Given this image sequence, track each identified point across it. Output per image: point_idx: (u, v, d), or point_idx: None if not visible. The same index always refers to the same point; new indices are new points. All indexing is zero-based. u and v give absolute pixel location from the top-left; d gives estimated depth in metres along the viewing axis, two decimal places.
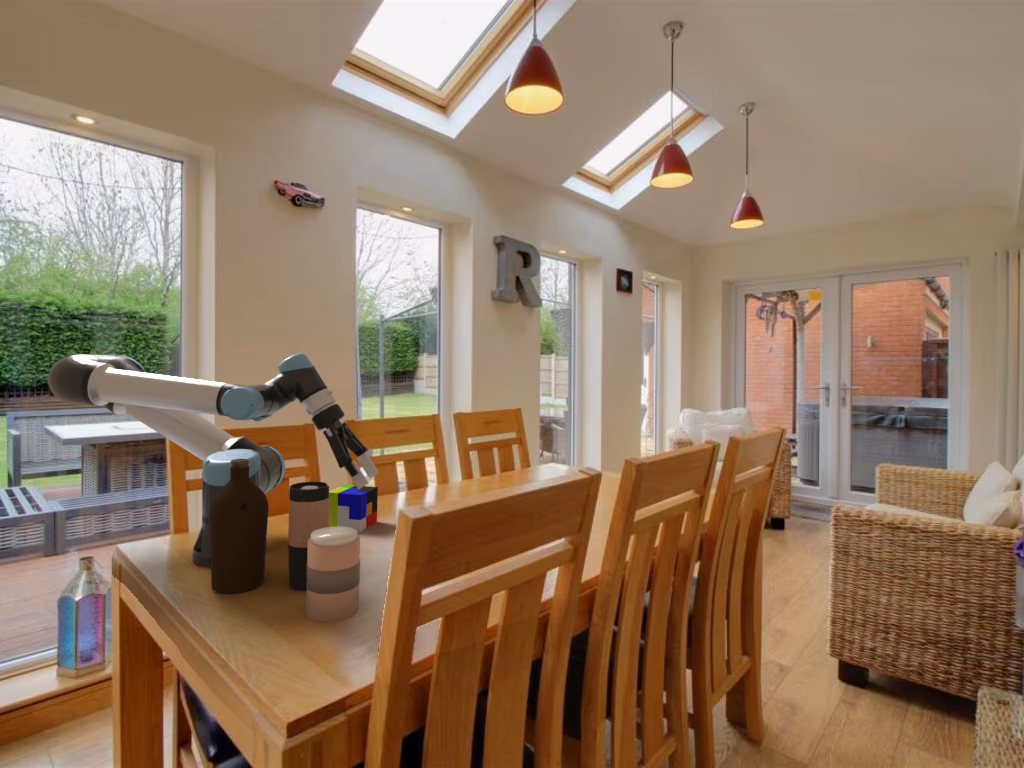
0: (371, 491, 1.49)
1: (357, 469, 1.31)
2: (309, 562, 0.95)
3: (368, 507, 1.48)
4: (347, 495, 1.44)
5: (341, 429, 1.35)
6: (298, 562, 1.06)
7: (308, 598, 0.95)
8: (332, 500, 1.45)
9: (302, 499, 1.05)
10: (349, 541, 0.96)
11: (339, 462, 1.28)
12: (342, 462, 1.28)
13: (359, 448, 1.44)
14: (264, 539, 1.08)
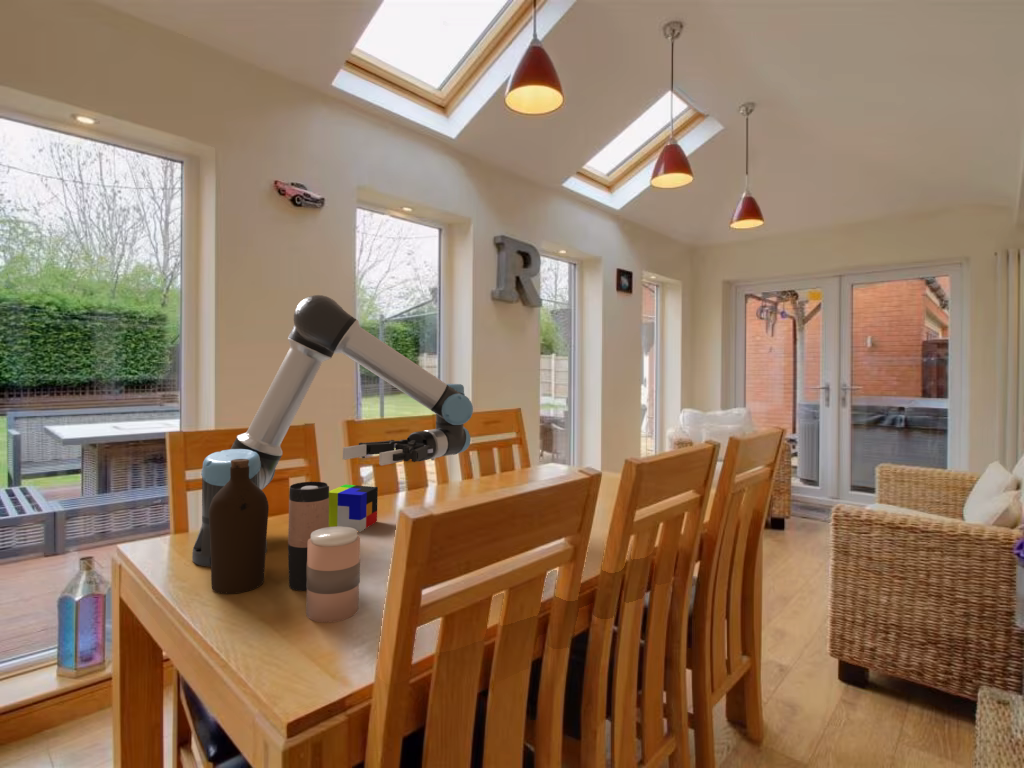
0: (371, 491, 1.49)
1: (395, 461, 1.21)
2: (309, 562, 0.95)
3: (368, 507, 1.48)
4: (347, 495, 1.44)
5: None
6: (298, 562, 1.06)
7: (308, 598, 0.95)
8: (332, 500, 1.45)
9: (302, 499, 1.05)
10: (349, 541, 0.96)
11: (416, 452, 1.23)
12: (415, 455, 1.22)
13: (372, 452, 1.30)
14: (264, 539, 1.08)
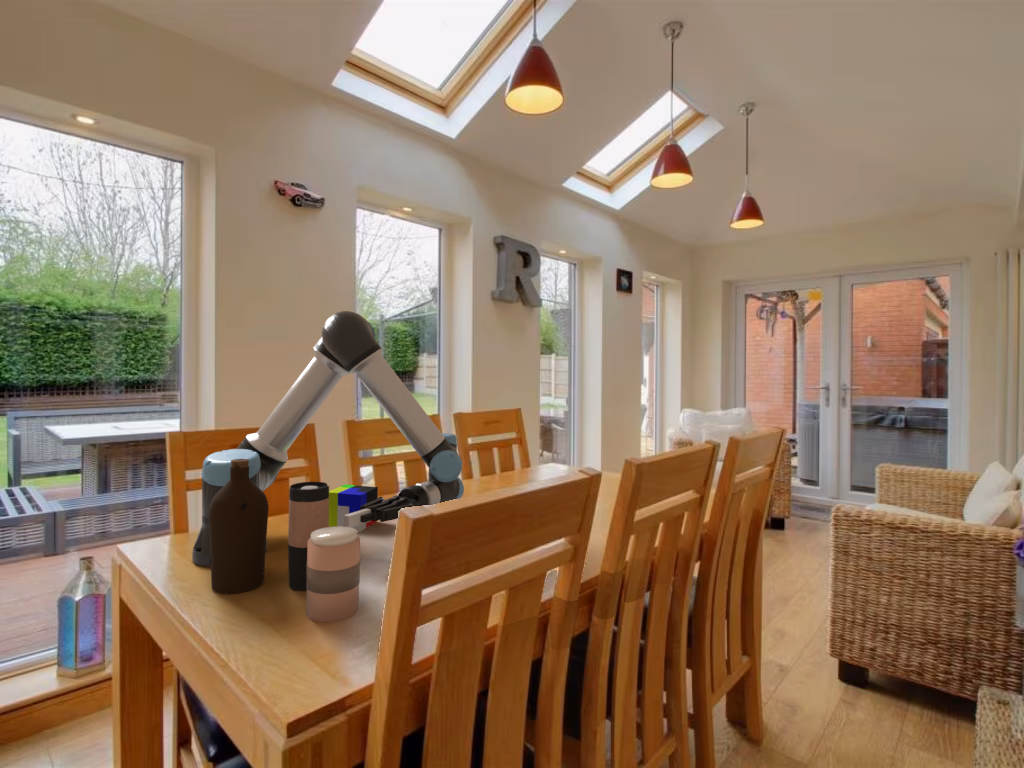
0: (371, 491, 1.49)
1: None
2: (309, 562, 0.95)
3: None
4: (347, 495, 1.44)
5: None
6: (298, 562, 1.06)
7: (308, 598, 0.95)
8: (332, 500, 1.45)
9: (302, 499, 1.05)
10: (349, 541, 0.96)
11: (385, 512, 1.22)
12: (383, 515, 1.22)
13: None
14: (264, 539, 1.08)
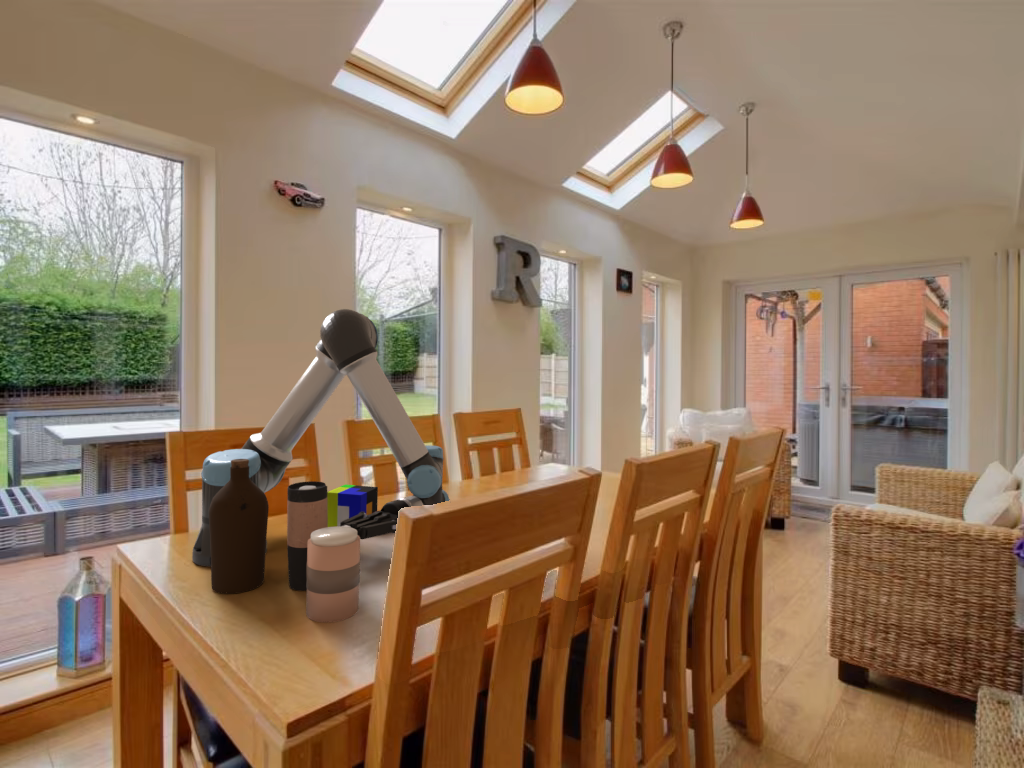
0: (371, 491, 1.49)
1: None
2: (309, 562, 0.95)
3: (368, 507, 1.48)
4: (347, 495, 1.44)
5: None
6: (297, 563, 1.06)
7: (308, 598, 0.95)
8: (332, 500, 1.45)
9: (301, 499, 1.05)
10: (349, 541, 0.96)
11: (365, 529, 1.18)
12: (363, 532, 1.17)
13: None
14: (264, 539, 1.08)
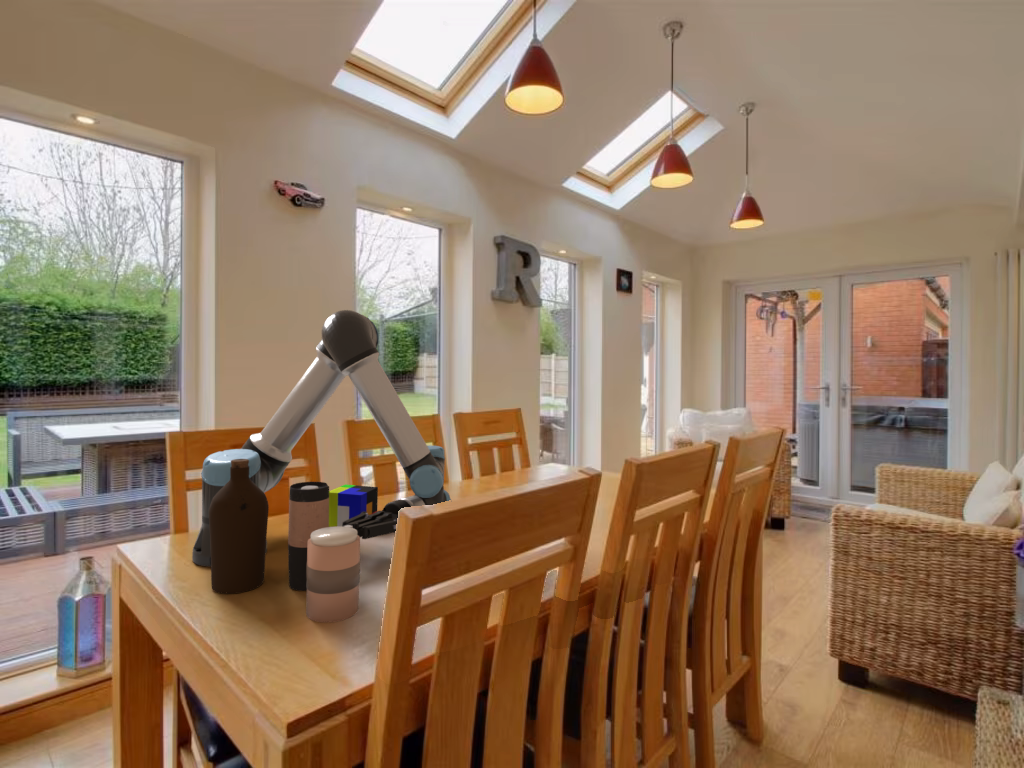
0: (371, 491, 1.49)
1: None
2: (309, 562, 0.95)
3: (368, 507, 1.48)
4: (347, 495, 1.44)
5: None
6: (298, 562, 1.06)
7: (308, 598, 0.95)
8: (332, 500, 1.45)
9: (303, 499, 1.05)
10: (349, 541, 0.96)
11: (367, 529, 1.18)
12: (366, 532, 1.18)
13: None
14: (264, 539, 1.08)
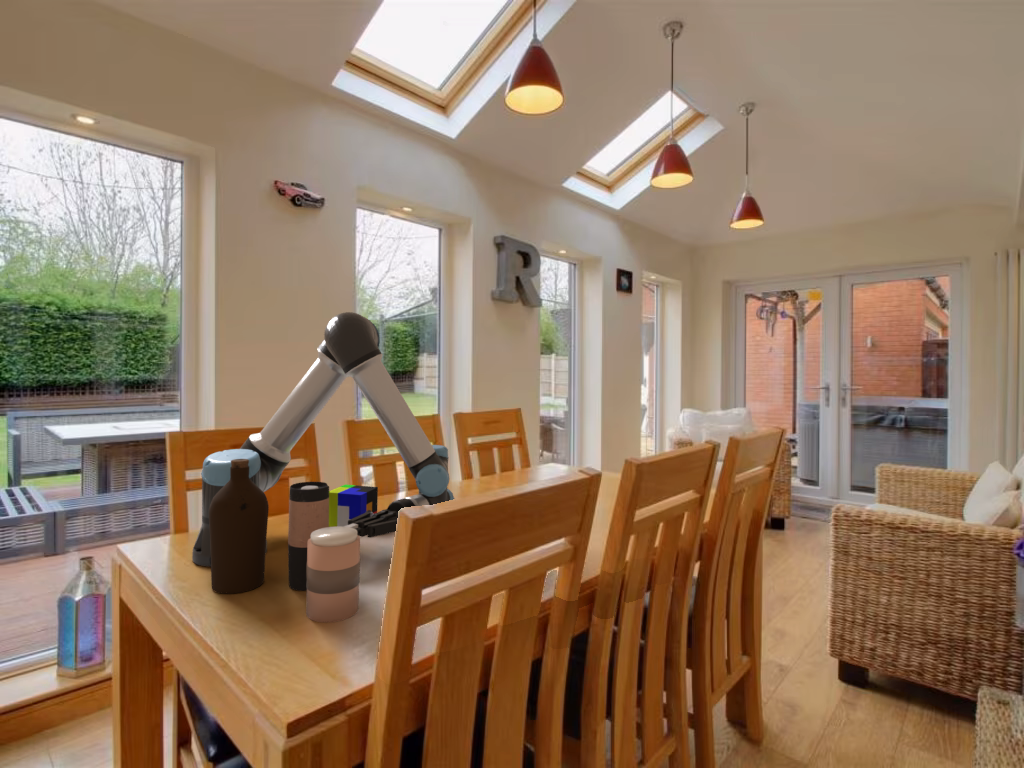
0: (371, 491, 1.49)
1: None
2: (309, 562, 0.95)
3: (368, 507, 1.48)
4: (347, 495, 1.44)
5: None
6: (298, 562, 1.06)
7: (308, 598, 0.95)
8: (332, 500, 1.45)
9: (303, 499, 1.05)
10: (349, 541, 0.96)
11: (372, 527, 1.19)
12: (371, 530, 1.19)
13: None
14: (264, 539, 1.08)
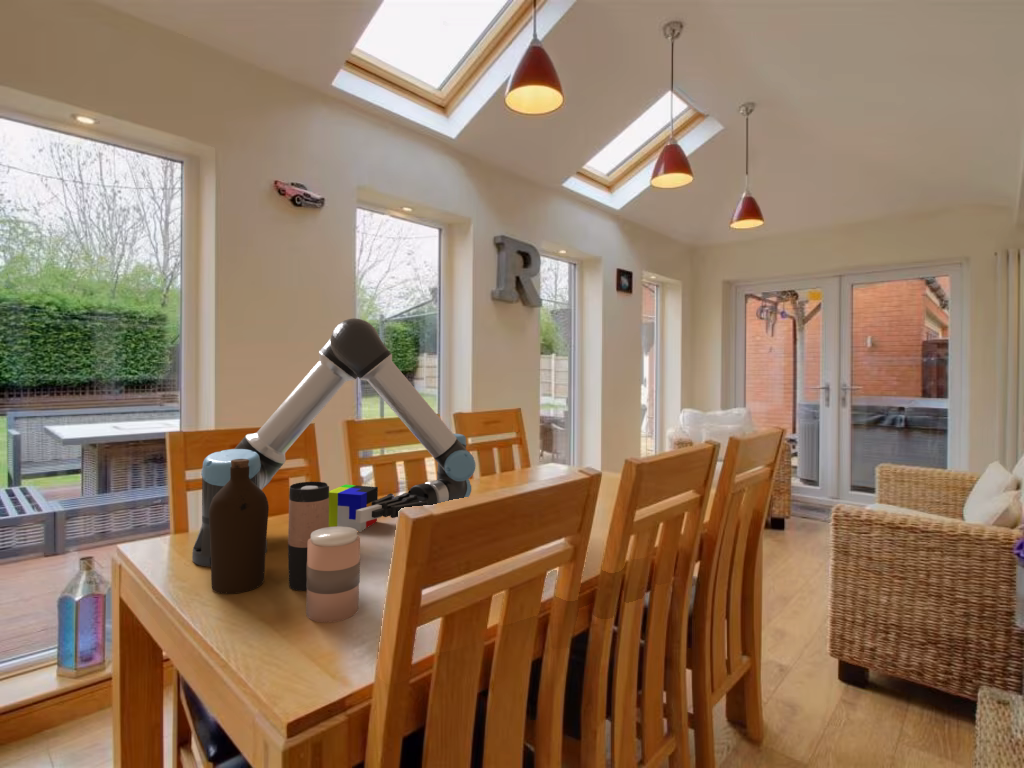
0: (371, 491, 1.49)
1: (374, 517, 1.24)
2: (309, 562, 0.95)
3: None
4: (347, 495, 1.44)
5: None
6: (298, 562, 1.06)
7: (308, 598, 0.95)
8: (332, 500, 1.45)
9: (302, 499, 1.05)
10: (349, 541, 0.96)
11: (395, 508, 1.25)
12: (394, 511, 1.25)
13: None
14: (264, 539, 1.08)
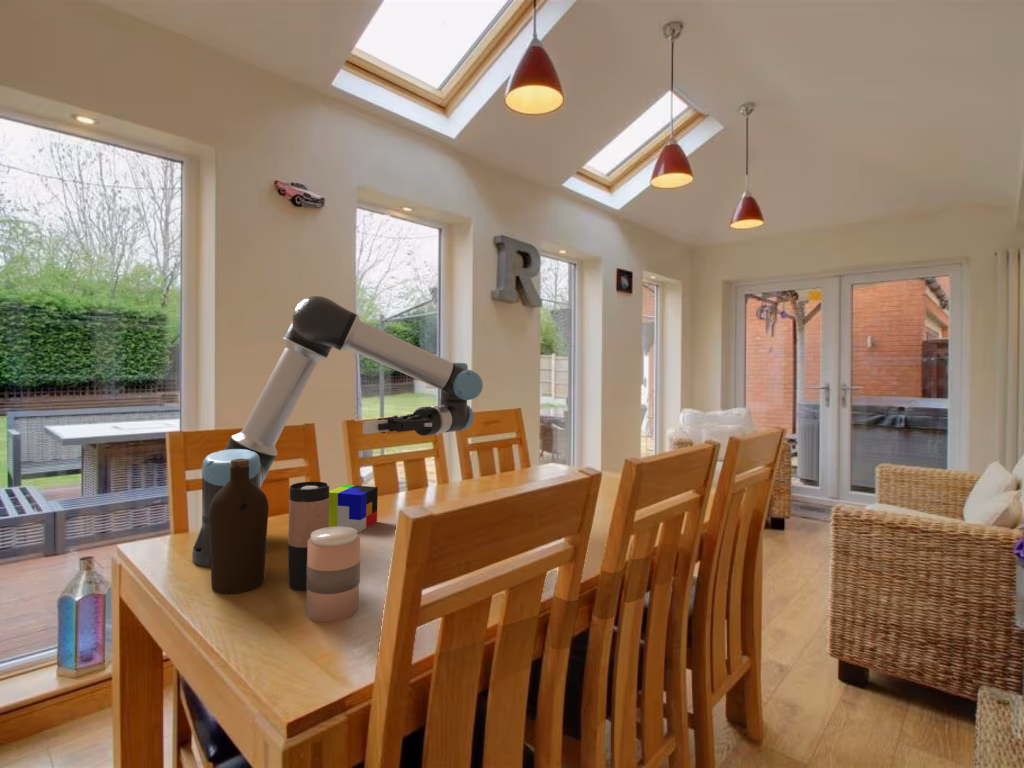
0: (371, 491, 1.49)
1: (380, 430, 1.28)
2: (309, 562, 0.95)
3: (368, 507, 1.48)
4: (347, 495, 1.44)
5: (418, 429, 1.38)
6: (298, 562, 1.06)
7: (308, 598, 0.95)
8: (332, 500, 1.45)
9: (303, 499, 1.05)
10: (349, 541, 0.96)
11: (401, 423, 1.29)
12: (399, 425, 1.29)
13: None
14: (264, 539, 1.08)
